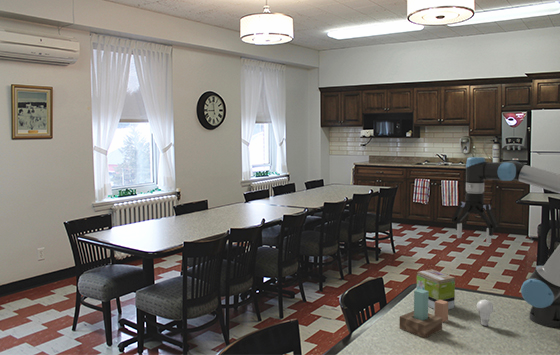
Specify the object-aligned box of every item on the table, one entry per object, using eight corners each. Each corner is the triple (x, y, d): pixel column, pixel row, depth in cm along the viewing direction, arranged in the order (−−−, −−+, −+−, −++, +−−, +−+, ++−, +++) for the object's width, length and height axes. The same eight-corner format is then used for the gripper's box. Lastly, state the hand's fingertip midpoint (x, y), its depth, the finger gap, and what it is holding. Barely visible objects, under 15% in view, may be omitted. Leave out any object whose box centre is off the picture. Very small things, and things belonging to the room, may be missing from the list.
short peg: (448, 320, 198) (448, 301, 197) (442, 322, 195) (443, 304, 194) (439, 317, 201) (440, 299, 200) (434, 319, 198) (434, 301, 198)
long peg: (427, 329, 188) (428, 291, 187) (422, 332, 186) (422, 293, 184) (419, 326, 191) (419, 288, 190) (413, 328, 189) (414, 290, 188)
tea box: (415, 301, 221) (416, 271, 219) (431, 298, 225) (432, 268, 224) (438, 311, 207) (439, 279, 206) (455, 308, 211) (455, 276, 210)
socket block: (442, 329, 188) (442, 317, 187) (424, 338, 180) (425, 325, 180) (416, 320, 197) (416, 309, 197) (399, 328, 190) (399, 316, 189)
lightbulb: (483, 329, 187) (483, 303, 186) (472, 323, 194) (473, 298, 193) (496, 327, 189) (497, 301, 188) (485, 321, 195) (486, 296, 194)
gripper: (444, 190, 209) (443, 236, 211) (499, 195, 189) (497, 246, 191) (453, 189, 214) (452, 234, 215) (507, 194, 194) (506, 243, 196)
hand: (473, 240), depth 203 cm, fingers open, 13 cm apart
